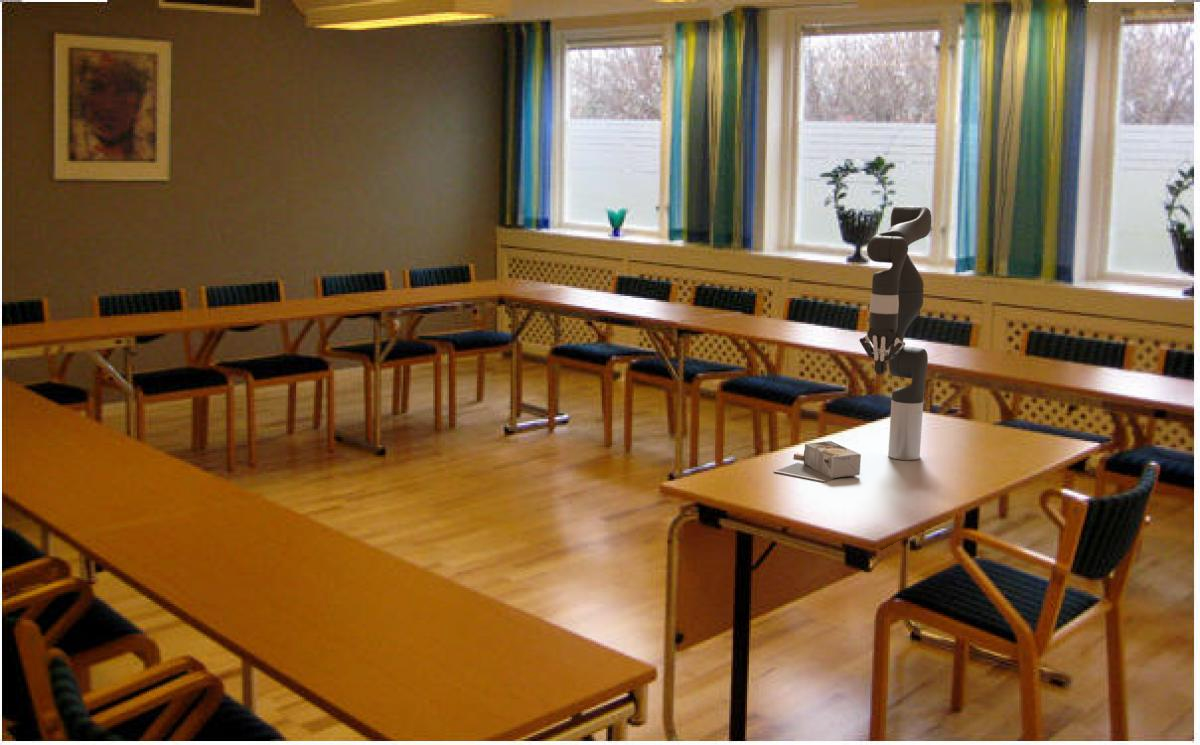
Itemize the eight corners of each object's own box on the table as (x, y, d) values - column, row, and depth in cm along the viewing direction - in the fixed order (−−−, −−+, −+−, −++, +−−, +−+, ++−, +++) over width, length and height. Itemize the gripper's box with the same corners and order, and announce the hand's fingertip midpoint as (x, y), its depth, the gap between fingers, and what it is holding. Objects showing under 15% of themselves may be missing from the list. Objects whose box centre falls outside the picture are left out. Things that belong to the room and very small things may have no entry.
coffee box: (860, 476, 380) (831, 462, 394) (861, 454, 379) (832, 440, 393) (831, 478, 377) (803, 464, 391) (832, 456, 375) (804, 442, 390)
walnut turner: (790, 459, 399) (790, 455, 399) (800, 455, 404) (800, 451, 404) (844, 469, 388) (845, 465, 388) (854, 465, 393) (854, 461, 393)
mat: (798, 463, 394) (798, 462, 394) (847, 473, 384) (847, 471, 384) (773, 472, 383) (773, 471, 383) (824, 482, 373) (824, 481, 373)
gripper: (912, 311, 362) (908, 375, 365) (868, 307, 370) (864, 369, 373) (900, 314, 356) (896, 379, 360) (855, 309, 364) (851, 372, 368)
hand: (880, 374), depth 366 cm, fingers closed
